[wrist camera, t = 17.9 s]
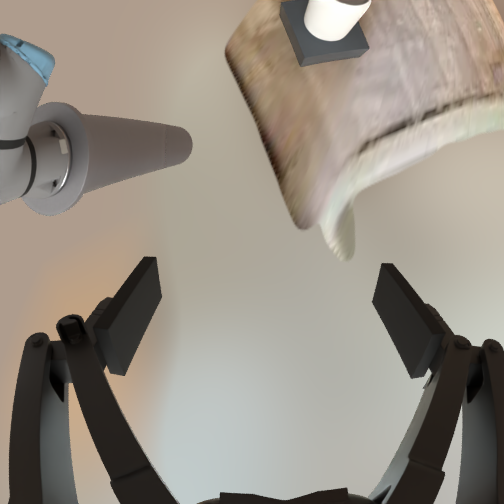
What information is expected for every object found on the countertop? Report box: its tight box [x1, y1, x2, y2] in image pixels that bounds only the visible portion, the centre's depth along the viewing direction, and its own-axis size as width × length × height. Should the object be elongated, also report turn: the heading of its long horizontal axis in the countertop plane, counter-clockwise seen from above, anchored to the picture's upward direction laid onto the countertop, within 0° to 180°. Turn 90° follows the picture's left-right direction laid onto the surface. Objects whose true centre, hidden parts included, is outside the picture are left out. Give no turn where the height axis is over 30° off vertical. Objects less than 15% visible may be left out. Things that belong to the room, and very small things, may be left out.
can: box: [304, 0, 371, 41], centre depth 24 cm, size 6×6×12 cm
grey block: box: [280, 0, 369, 67], centre depth 32 cm, size 10×10×5 cm
